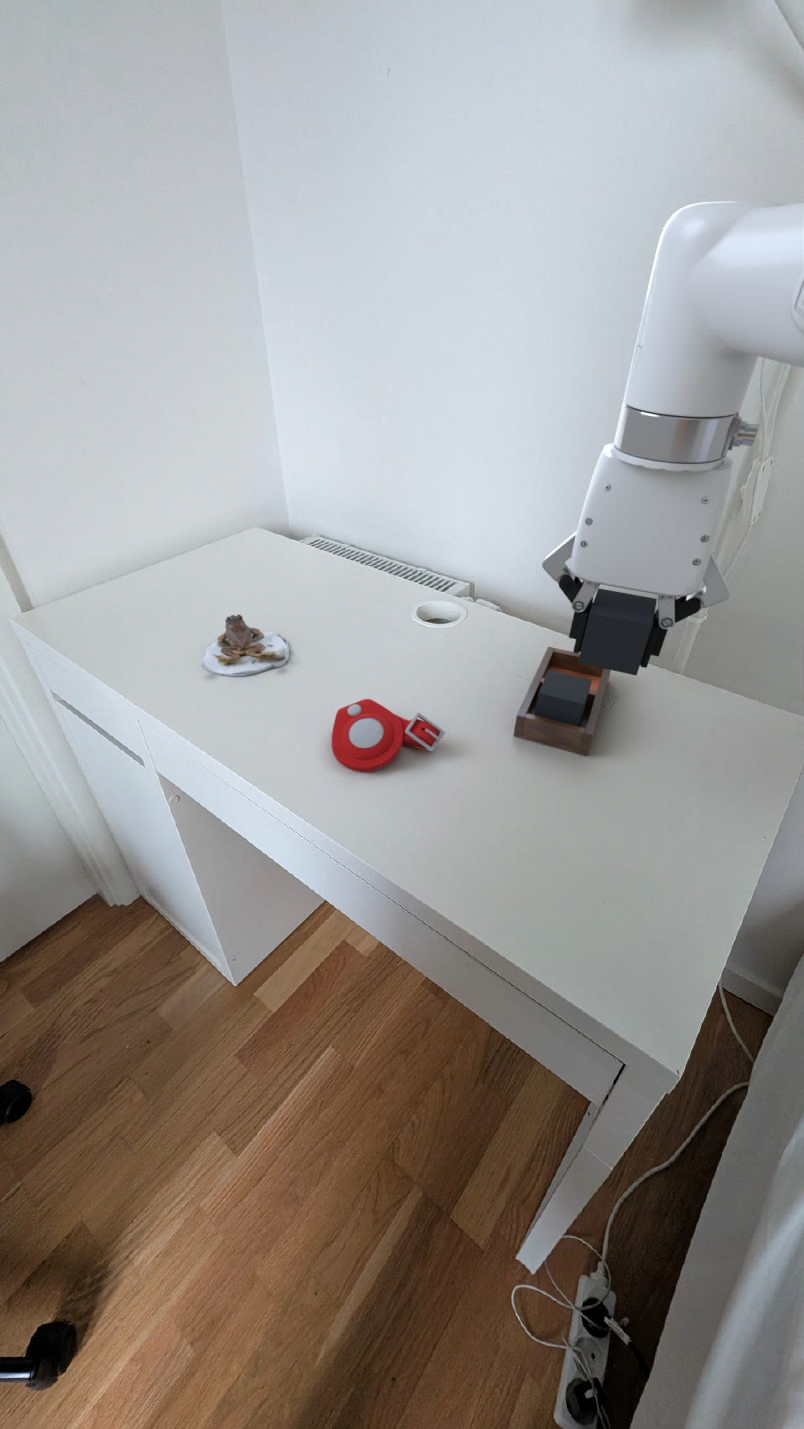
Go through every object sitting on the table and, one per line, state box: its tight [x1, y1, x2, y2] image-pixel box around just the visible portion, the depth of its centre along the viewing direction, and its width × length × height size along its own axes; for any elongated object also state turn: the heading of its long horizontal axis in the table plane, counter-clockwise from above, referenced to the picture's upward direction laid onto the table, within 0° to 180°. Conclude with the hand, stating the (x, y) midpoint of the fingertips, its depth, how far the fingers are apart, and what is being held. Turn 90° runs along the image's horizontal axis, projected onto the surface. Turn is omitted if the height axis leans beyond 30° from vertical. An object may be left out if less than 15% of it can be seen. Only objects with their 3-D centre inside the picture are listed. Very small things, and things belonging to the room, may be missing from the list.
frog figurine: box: [201, 614, 291, 677], centre depth 79 cm, size 12×12×4 cm
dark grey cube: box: [535, 670, 592, 727], centre depth 67 cm, size 5×5×5 cm
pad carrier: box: [513, 646, 612, 757], centre depth 70 cm, size 8×16×3 cm, turn 156°
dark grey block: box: [578, 587, 658, 676], centre depth 51 cm, size 5×5×5 cm
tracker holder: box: [331, 698, 446, 772], centre depth 65 cm, size 12×4×10 cm
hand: (611, 650), depth 52 cm, fingers closed on dark grey block, 5 cm apart
